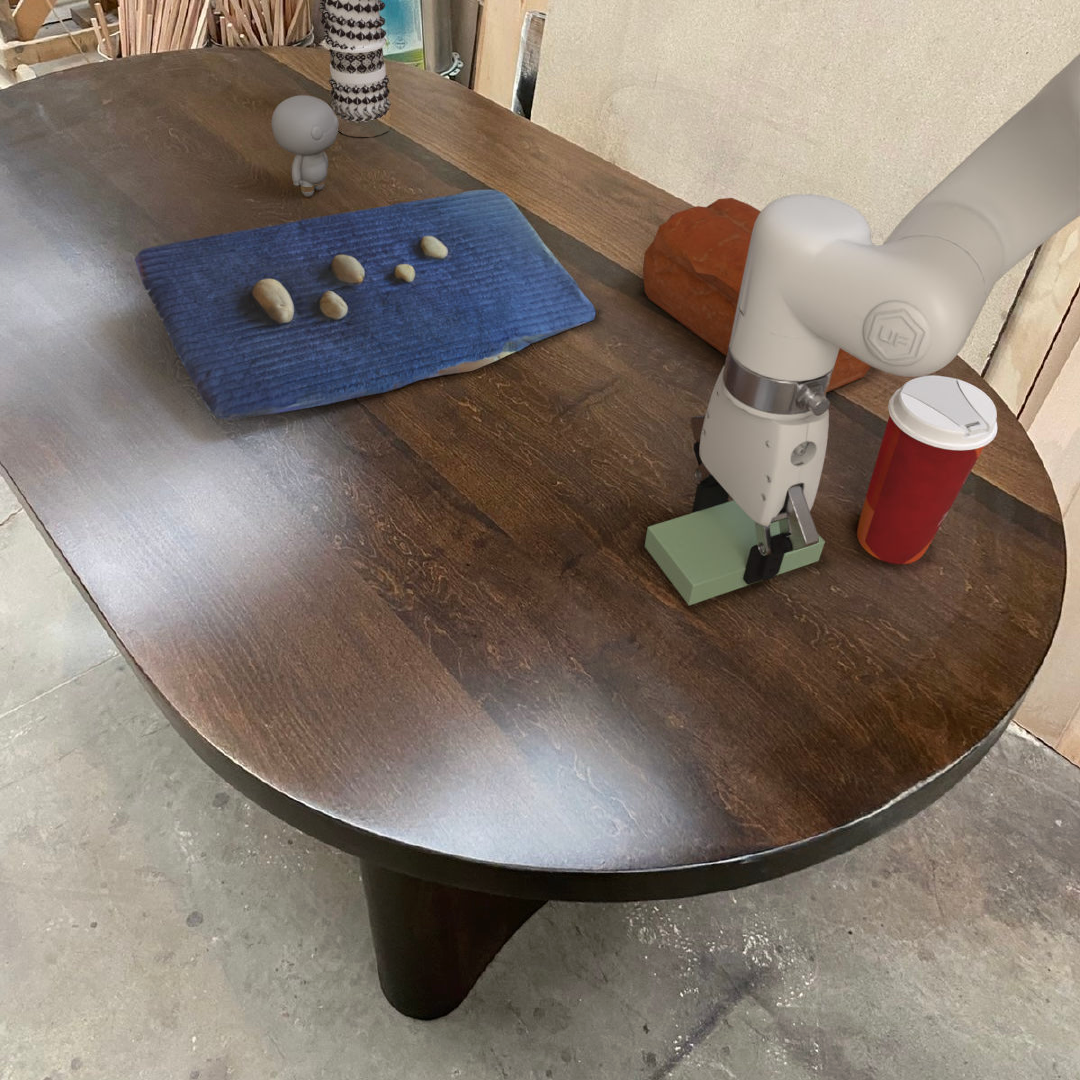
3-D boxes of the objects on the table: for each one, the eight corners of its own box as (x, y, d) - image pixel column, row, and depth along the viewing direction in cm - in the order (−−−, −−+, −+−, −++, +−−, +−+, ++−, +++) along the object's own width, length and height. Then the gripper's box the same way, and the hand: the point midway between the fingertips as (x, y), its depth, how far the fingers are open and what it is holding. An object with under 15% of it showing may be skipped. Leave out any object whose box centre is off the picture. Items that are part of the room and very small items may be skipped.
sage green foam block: (769, 506, 87) (774, 487, 85) (818, 561, 82) (825, 541, 81) (644, 546, 83) (647, 526, 81) (688, 606, 78) (693, 586, 76)
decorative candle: (330, 139, 140) (306, -57, 123) (333, 114, 147) (312, -76, 129) (393, 139, 141) (379, -56, 124) (394, 114, 148) (381, -74, 130)
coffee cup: (959, 560, 83) (1027, 422, 72) (880, 584, 81) (939, 444, 70) (899, 498, 88) (955, 361, 78) (824, 519, 86) (871, 380, 75)
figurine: (320, 211, 124) (308, 117, 116) (272, 198, 126) (256, 104, 118) (355, 187, 129) (345, 95, 121) (308, 175, 132) (296, 84, 123)
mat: (473, 235, 126) (491, 159, 117) (587, 384, 116) (616, 314, 107) (124, 311, 105) (112, 226, 96) (226, 501, 95) (224, 427, 86)
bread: (725, 260, 119) (741, 176, 112) (890, 367, 104) (921, 278, 96) (626, 293, 113) (635, 206, 105) (785, 412, 97) (810, 321, 90)
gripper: (896, 430, 65) (831, 603, 78) (752, 303, 76) (715, 472, 89) (806, 457, 63) (753, 631, 75) (670, 322, 74) (644, 493, 86)
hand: (733, 544), depth 82 cm, fingers closed on sage green foam block, 7 cm apart
